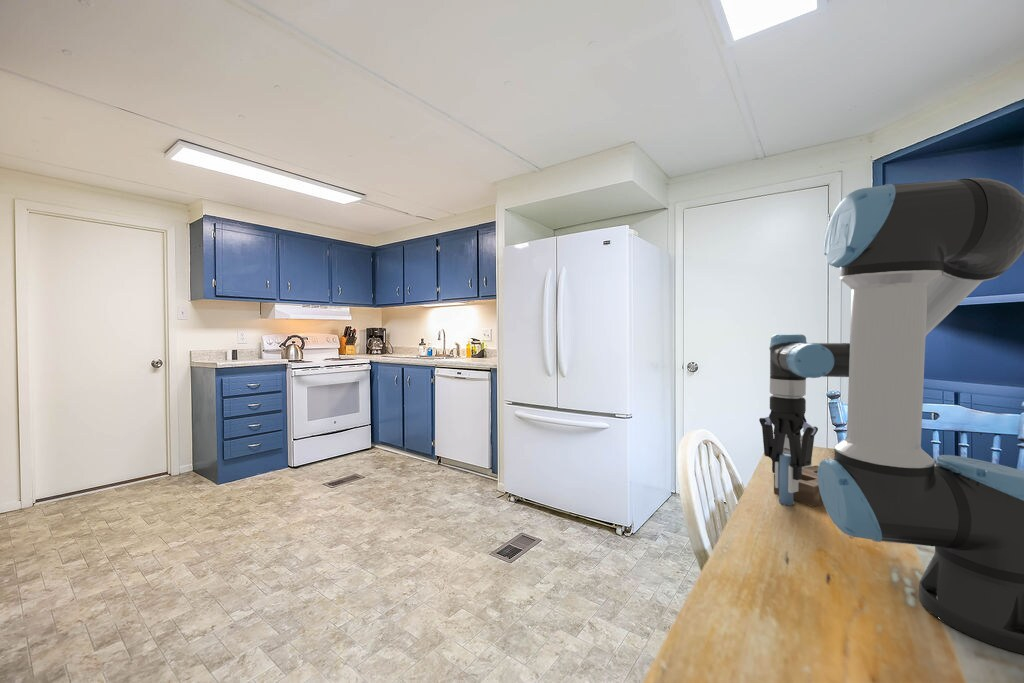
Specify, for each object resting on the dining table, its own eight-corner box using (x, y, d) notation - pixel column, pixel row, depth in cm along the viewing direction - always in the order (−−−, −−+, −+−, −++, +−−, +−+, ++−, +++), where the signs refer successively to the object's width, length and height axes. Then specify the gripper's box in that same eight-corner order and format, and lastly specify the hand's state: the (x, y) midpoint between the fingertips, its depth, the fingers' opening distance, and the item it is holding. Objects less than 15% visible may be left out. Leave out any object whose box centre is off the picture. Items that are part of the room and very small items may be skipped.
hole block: (813, 506, 102) (813, 486, 102) (773, 492, 112) (774, 473, 112) (856, 495, 110) (856, 476, 109) (816, 482, 119) (816, 465, 119)
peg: (788, 506, 103) (788, 458, 102) (776, 501, 105) (776, 454, 105) (796, 504, 104) (796, 456, 104) (784, 500, 107) (784, 453, 106)
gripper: (831, 399, 98) (830, 498, 99) (767, 391, 113) (766, 477, 113) (811, 401, 95) (809, 503, 96) (748, 392, 110) (747, 481, 110)
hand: (786, 489), depth 104 cm, fingers closed on peg, 3 cm apart
